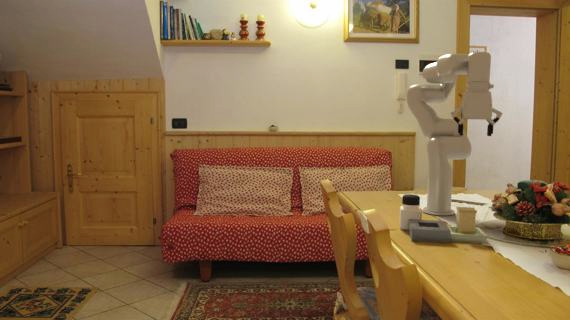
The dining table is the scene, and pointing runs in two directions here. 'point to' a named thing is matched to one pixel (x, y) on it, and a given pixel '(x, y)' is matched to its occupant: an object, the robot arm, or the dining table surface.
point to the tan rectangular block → (465, 220)
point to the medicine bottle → (409, 210)
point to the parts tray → (468, 236)
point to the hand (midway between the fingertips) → (474, 135)
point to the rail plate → (429, 231)
